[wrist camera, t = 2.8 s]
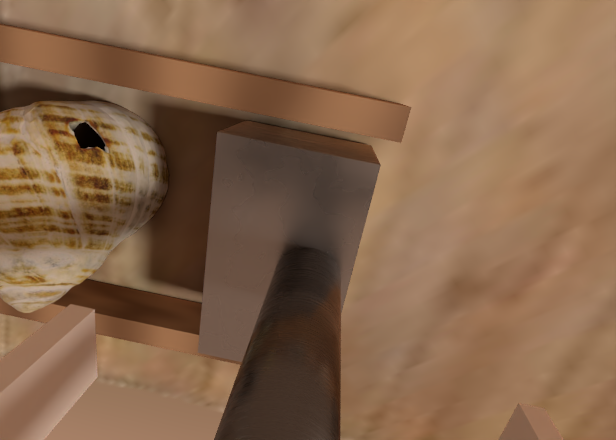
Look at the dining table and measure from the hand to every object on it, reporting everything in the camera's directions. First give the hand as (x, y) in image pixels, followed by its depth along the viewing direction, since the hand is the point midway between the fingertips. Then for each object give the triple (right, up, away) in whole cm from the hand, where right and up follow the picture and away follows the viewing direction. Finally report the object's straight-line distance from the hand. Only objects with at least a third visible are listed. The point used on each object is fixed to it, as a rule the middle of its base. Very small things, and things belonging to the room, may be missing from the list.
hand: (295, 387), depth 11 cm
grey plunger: (-1, +5, +11) cm, 12 cm away
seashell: (-13, +7, +11) cm, 19 cm away
